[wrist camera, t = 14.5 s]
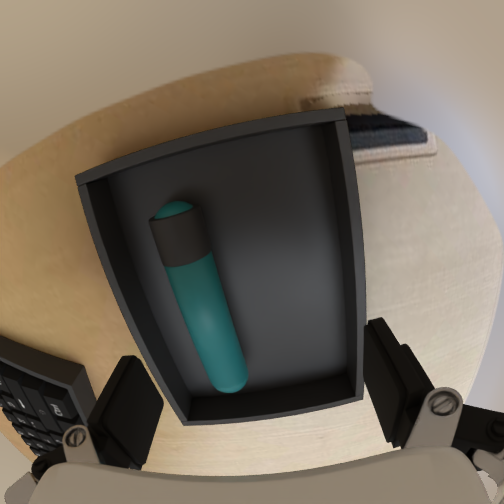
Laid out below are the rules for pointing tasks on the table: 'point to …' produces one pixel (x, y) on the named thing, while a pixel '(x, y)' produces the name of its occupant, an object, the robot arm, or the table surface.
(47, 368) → the computer keyboard
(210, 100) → the table surface
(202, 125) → the table surface
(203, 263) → the marker pen
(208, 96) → the table surface
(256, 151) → the black tray
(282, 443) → the table surface
